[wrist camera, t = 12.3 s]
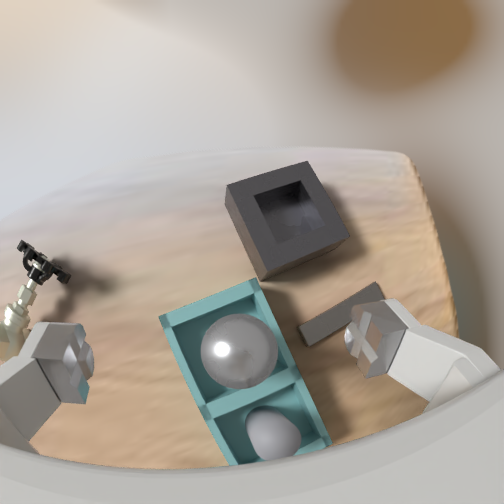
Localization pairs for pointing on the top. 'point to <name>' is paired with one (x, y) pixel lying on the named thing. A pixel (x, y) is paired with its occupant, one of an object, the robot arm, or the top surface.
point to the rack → (251, 399)
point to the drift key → (337, 315)
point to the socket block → (284, 218)
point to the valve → (25, 301)
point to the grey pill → (239, 351)
